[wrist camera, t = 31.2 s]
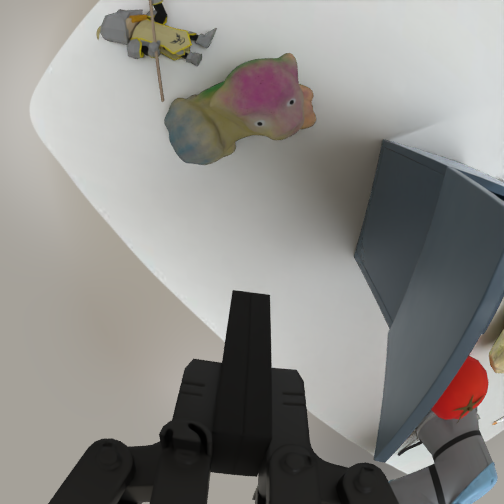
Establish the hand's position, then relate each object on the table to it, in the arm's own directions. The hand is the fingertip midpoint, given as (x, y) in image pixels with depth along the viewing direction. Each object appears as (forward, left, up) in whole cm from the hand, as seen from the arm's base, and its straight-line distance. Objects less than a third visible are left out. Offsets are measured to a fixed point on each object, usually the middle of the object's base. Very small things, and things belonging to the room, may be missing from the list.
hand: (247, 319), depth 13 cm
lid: (0, -11, -3) cm, 11 cm away
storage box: (0, -19, -24) cm, 31 cm away
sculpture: (+7, +2, -24) cm, 25 cm away
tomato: (-26, -38, -24) cm, 52 cm away
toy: (+18, +5, -21) cm, 28 cm away
